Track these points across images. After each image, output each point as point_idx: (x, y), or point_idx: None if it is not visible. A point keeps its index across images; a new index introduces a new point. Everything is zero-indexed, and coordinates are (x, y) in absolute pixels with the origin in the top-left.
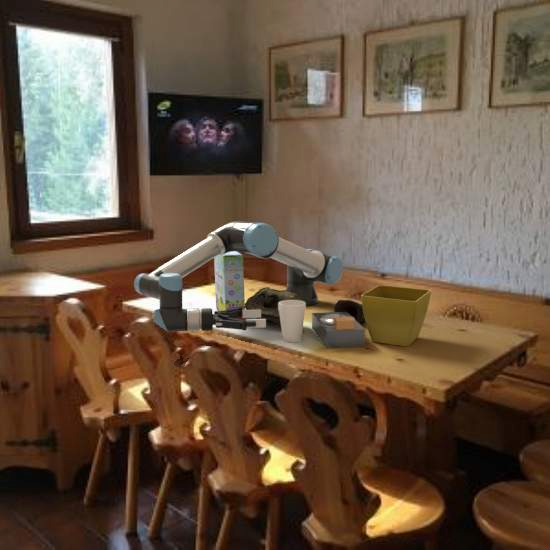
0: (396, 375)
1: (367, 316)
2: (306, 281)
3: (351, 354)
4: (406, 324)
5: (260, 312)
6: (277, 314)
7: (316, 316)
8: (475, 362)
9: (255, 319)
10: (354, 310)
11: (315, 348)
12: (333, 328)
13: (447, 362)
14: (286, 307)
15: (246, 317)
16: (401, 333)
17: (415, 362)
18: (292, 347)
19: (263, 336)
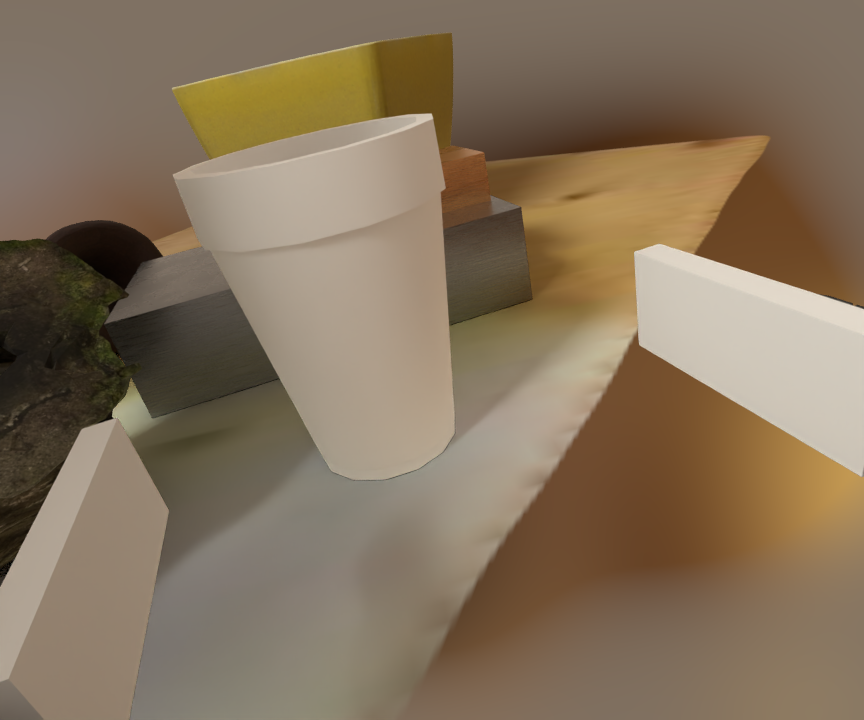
0: (732, 169)
1: None
2: None
3: (580, 246)
4: (448, 130)
5: (133, 455)
6: (8, 465)
7: (203, 293)
8: (533, 161)
9: (758, 280)
10: None
11: (548, 321)
12: (466, 209)
13: (554, 170)
14: (432, 138)
15: (127, 705)
16: None
17: (585, 183)
18: (577, 387)
19: (295, 646)
